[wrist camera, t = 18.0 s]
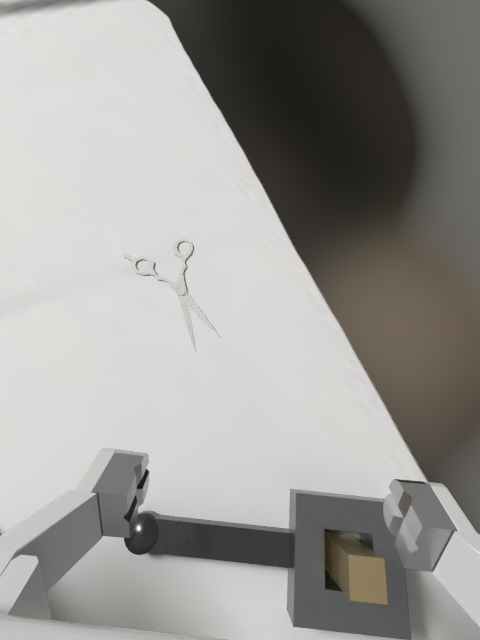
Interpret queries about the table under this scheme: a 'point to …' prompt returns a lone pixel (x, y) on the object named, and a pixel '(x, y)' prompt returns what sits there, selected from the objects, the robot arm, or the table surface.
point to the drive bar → (355, 568)
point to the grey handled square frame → (296, 557)
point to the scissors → (176, 286)
